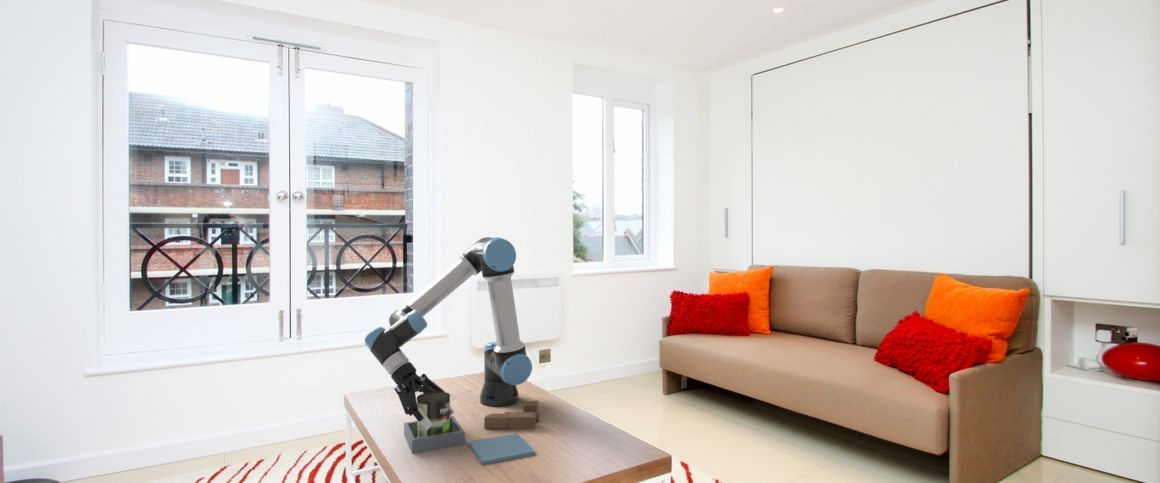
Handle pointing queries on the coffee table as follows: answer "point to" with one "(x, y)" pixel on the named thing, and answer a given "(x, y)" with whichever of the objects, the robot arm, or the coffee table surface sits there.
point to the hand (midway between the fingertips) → (440, 421)
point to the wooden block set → (514, 418)
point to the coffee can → (434, 413)
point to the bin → (434, 437)
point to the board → (500, 448)
